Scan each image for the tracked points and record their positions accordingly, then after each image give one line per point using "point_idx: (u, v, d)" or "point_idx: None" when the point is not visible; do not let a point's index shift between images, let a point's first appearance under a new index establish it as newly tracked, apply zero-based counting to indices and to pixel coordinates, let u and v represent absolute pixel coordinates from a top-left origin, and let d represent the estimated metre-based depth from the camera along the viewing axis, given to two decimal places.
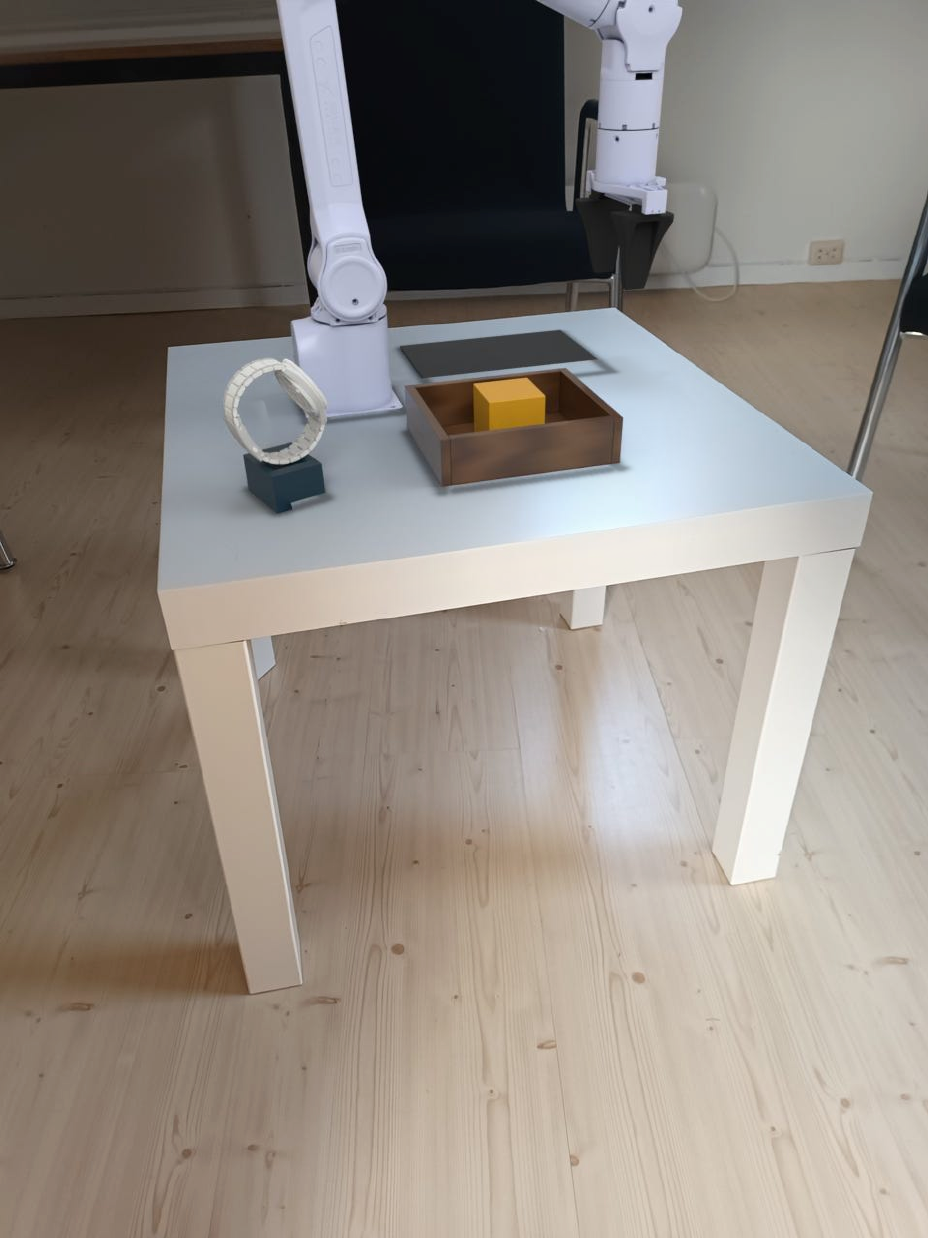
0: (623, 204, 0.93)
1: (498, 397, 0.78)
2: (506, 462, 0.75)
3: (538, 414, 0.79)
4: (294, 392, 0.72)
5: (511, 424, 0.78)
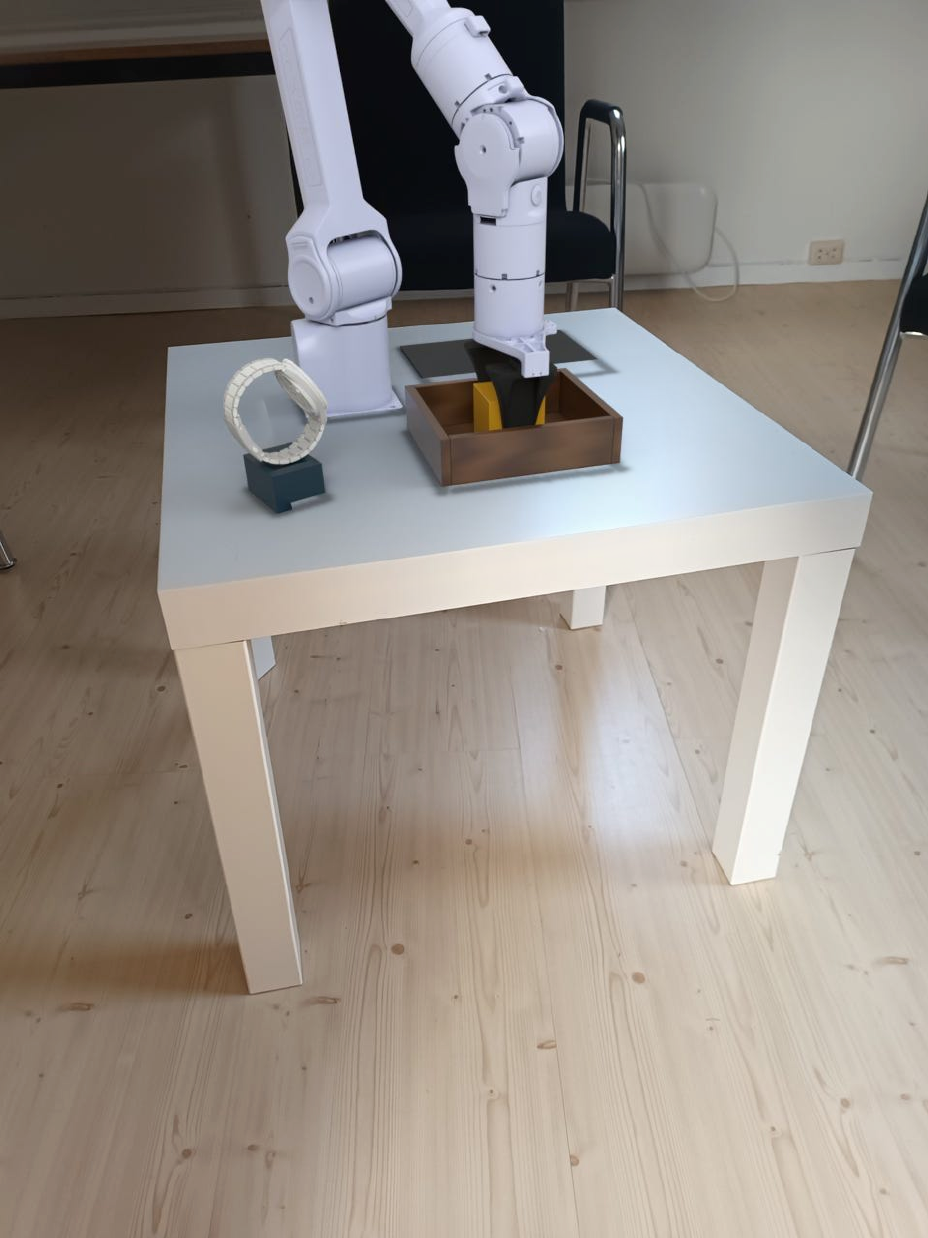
0: None
1: None
2: (506, 462, 0.75)
3: (538, 414, 0.79)
4: (294, 392, 0.72)
5: None
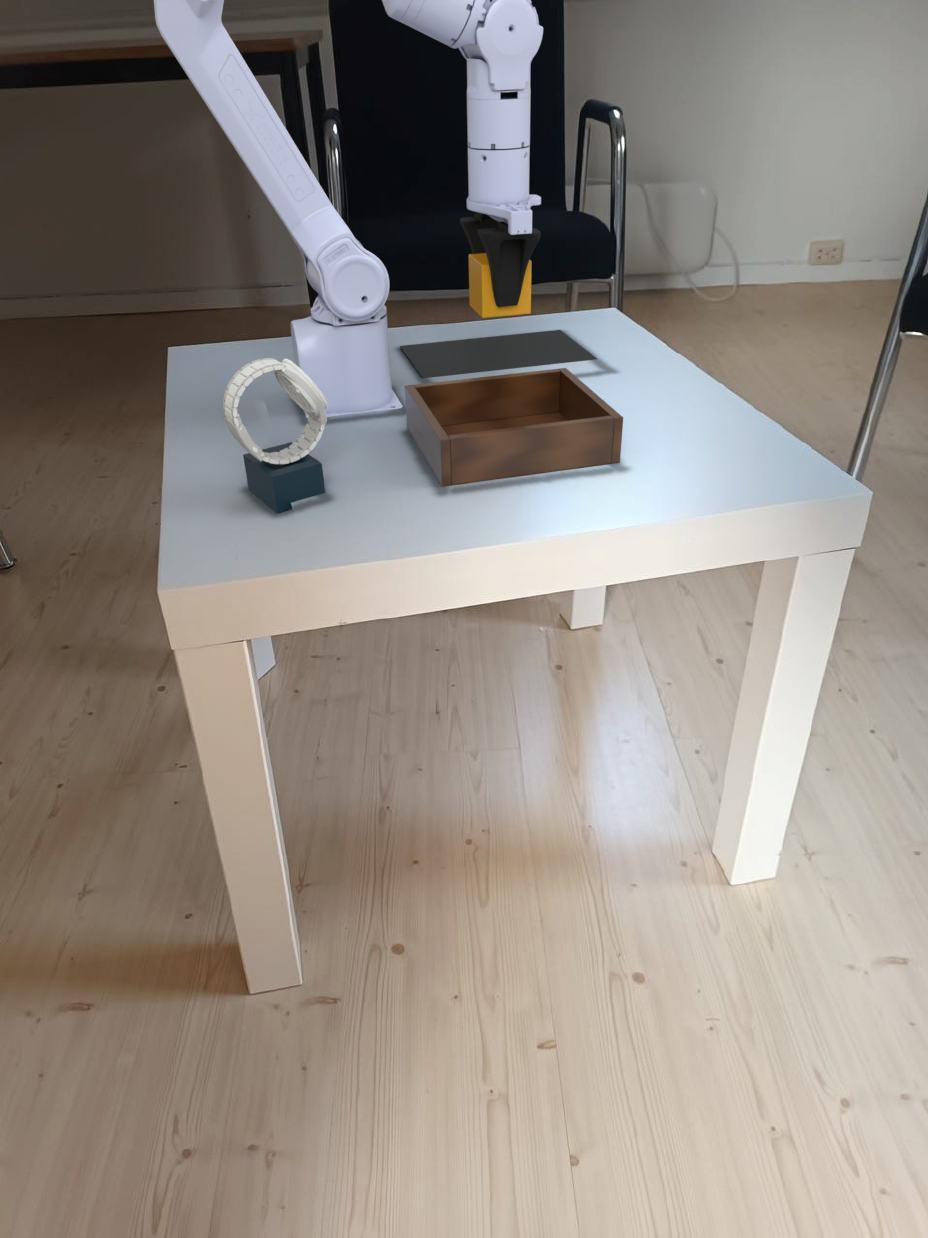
0: None
1: None
2: (506, 462, 0.75)
3: (525, 278, 0.89)
4: (294, 392, 0.72)
5: None
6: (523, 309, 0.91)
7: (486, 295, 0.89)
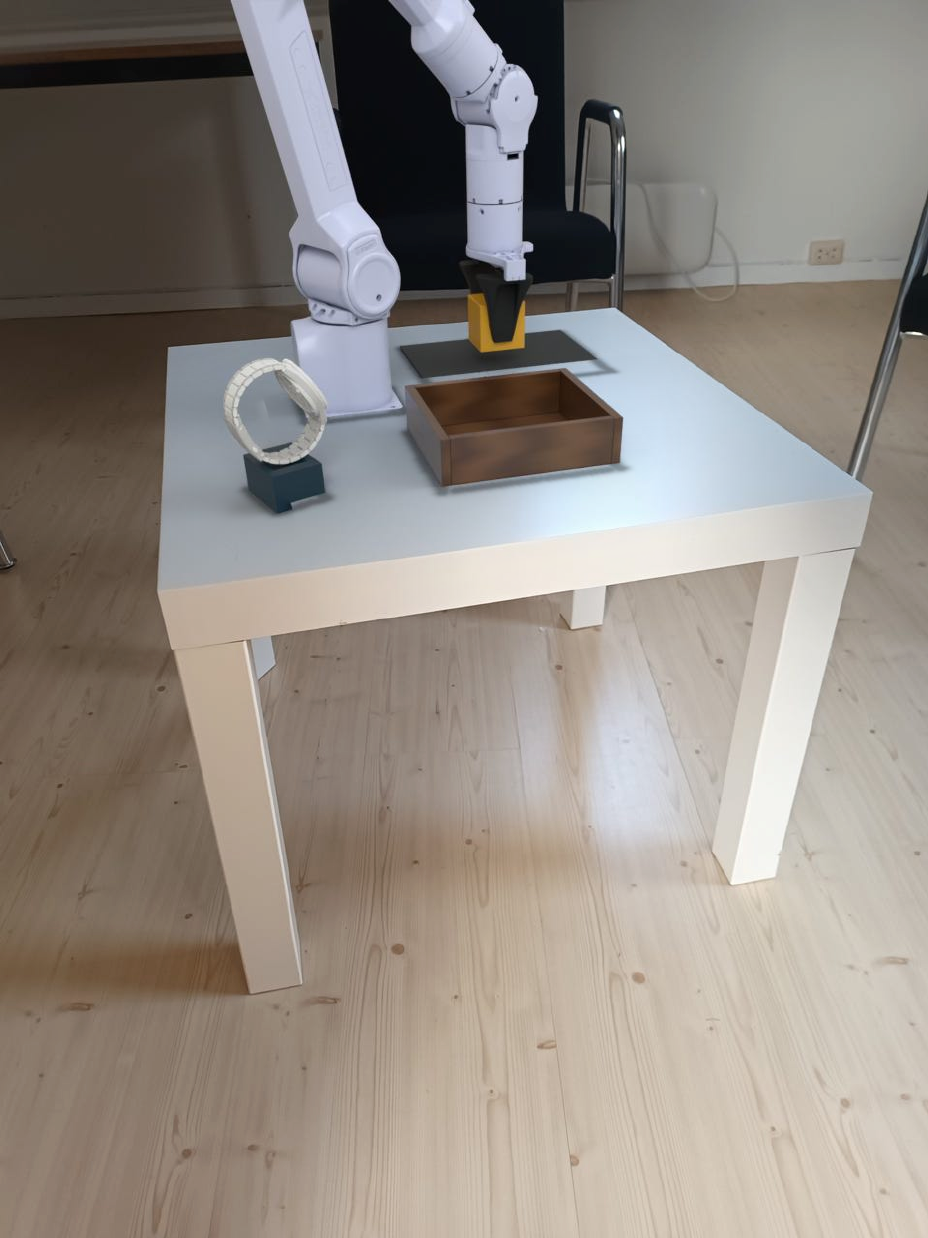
0: None
1: None
2: (506, 462, 0.75)
3: (520, 317, 0.99)
4: (294, 392, 0.72)
5: None
6: (518, 344, 1.00)
7: (484, 332, 0.98)
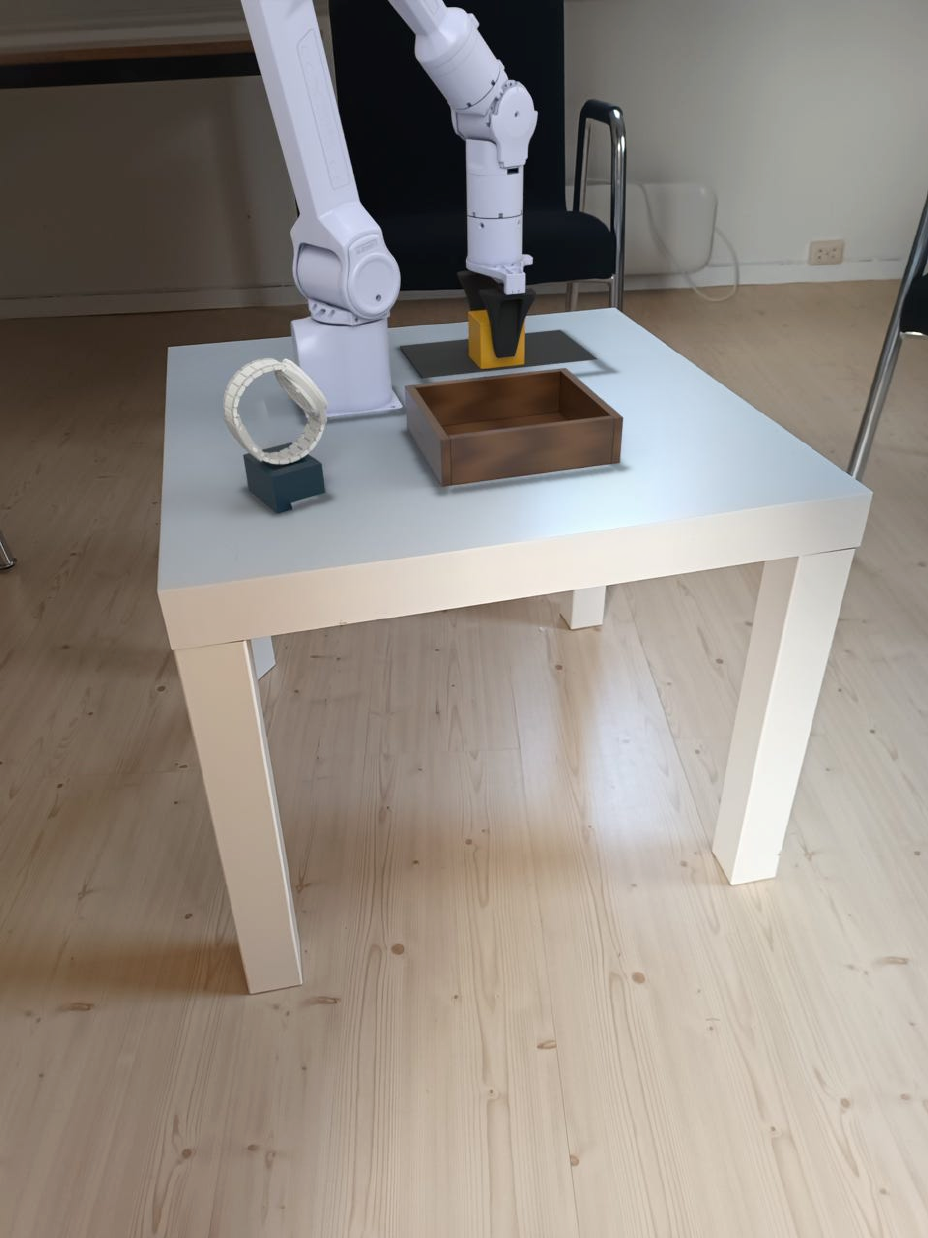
0: None
1: (488, 320, 0.99)
2: (506, 462, 0.75)
3: None
4: (294, 392, 0.72)
5: None
6: (518, 360, 1.01)
7: (484, 349, 0.99)
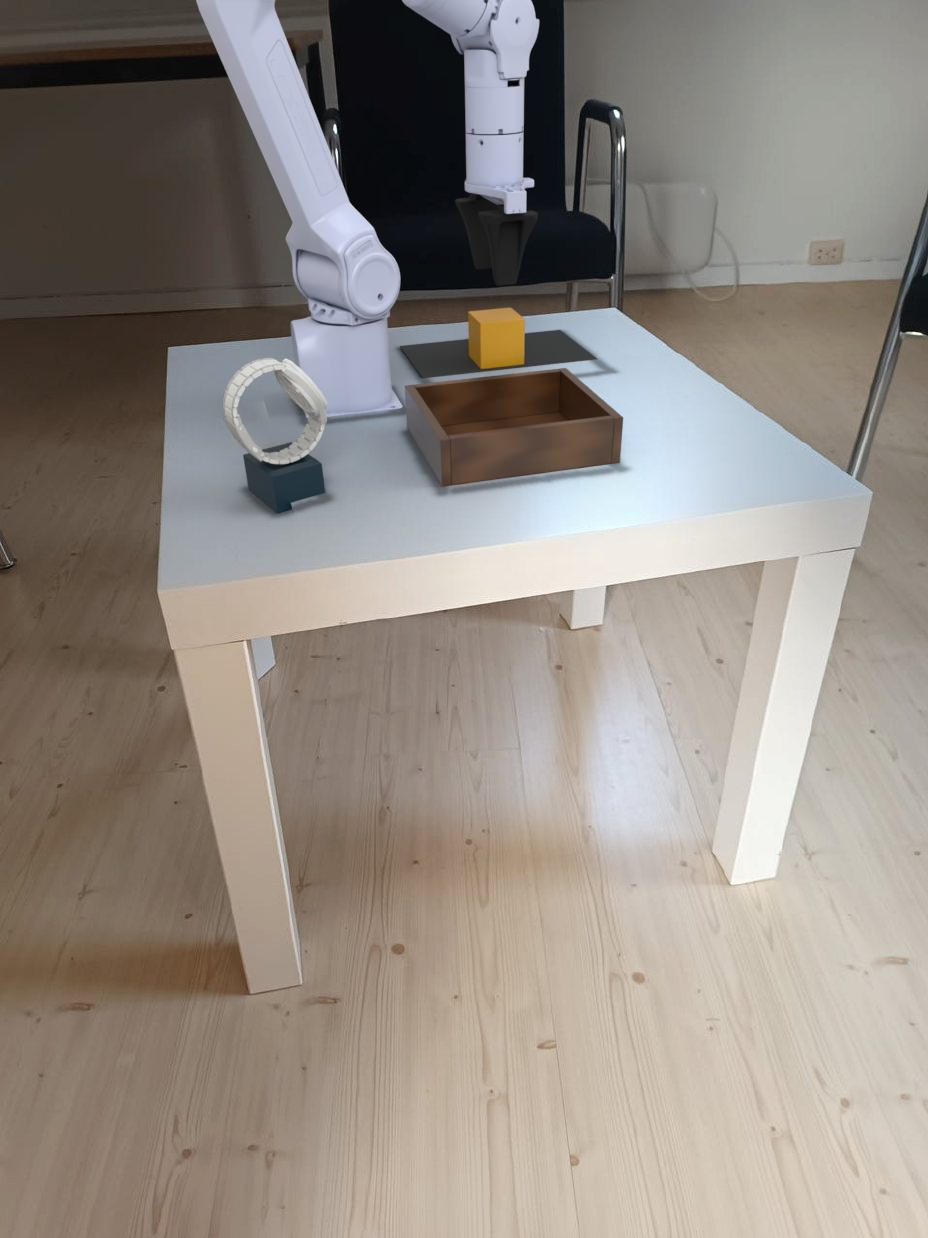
0: None
1: (488, 320, 0.99)
2: (506, 462, 0.75)
3: (519, 334, 1.00)
4: (294, 392, 0.72)
5: (498, 341, 0.99)
6: (518, 360, 1.01)
7: (484, 349, 0.99)
